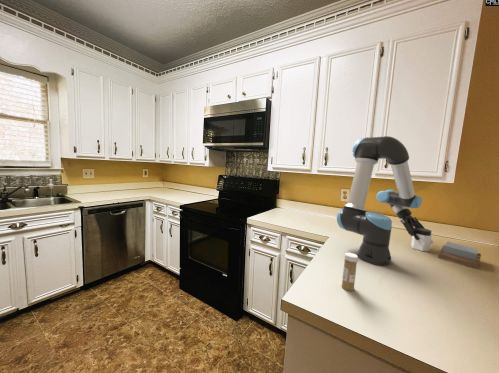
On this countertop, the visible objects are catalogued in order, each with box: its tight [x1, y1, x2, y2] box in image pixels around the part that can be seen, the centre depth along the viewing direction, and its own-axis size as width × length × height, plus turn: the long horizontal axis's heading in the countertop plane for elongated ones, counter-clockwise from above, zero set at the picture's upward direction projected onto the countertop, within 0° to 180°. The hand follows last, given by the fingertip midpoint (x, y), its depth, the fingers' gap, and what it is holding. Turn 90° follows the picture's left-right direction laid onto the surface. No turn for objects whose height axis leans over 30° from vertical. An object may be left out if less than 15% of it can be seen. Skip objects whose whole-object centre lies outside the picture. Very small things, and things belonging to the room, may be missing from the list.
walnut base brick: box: [437, 244, 482, 270], centre depth 115 cm, size 15×15×4 cm
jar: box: [410, 227, 432, 252], centre depth 127 cm, size 9×8×12 cm
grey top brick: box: [443, 241, 479, 260], centre depth 114 cm, size 12×12×4 cm
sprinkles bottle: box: [341, 252, 359, 292], centre depth 81 cm, size 5×5×13 cm
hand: (427, 244), depth 124 cm, fingers closed on jar, 8 cm apart
